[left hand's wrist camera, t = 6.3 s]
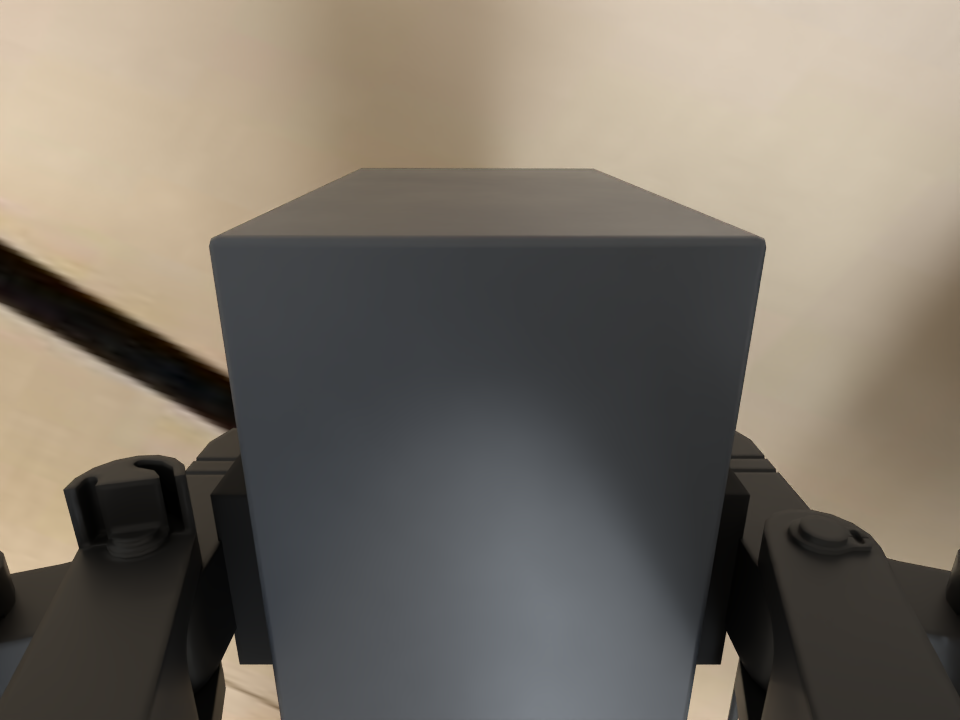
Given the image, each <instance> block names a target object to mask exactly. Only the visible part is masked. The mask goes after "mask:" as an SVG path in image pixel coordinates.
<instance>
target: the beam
mask: <svg viewBox="0 0 960 720" xmlns="http://www.w3.org/2000/svg"><path fill="white" fill-rule="evenodd" d="M209 249H210V255H211V262H212V268H213V275H214V282H215V288H216V295H217V301H218V308H219V314H220V321H221V328H222V334H223V341H224V347H225V354H226V360H227V367H228V374H229V380H230V387H231V393H232V400H233V406H234V413H235V420H236V426H237V433H238V439H239V446H240V452H241V459H242V466H243V472H244V479H245V485H246V492H247V498H248V505H249V512H250V518H251V525H252V531H253V538H254V544H255V551H256V558H257V564H258V571H259V577H260V584H261V590H262V597H263V604H264V610H265V617H266V623H267V630H268V636H269V643H270V650H271V656H272V663H273V669H274V676H275V682H276V689H277V696H278V702H279V709H280V715H281V720H687V716H688V710H689V704H690V698H691V692H692V686H693V680H694V674H695V668H696V663H697V657H698V651H699V645H700V639H701V633H702V627H703V621H704V615H705V609H706V603H707V597H708V591H709V585H710V579H711V573H712V567H713V561H714V555H715V549H716V543H717V537H718V531H719V525H720V519H721V513H722V508H723V502H724V496H725V490H726V484H727V478H728V472H729V466H730V460H731V454H732V448H733V442H734V436H735V430H736V424H737V418H738V412H739V406H740V400H741V394H742V388H743V382H744V376H745V370H746V364H747V359H748V353H749V347H750V341H751V335H752V329H753V323H754V317H755V311H756V305H757V299H758V293H759V287H760V281H761V275H762V269H763V263H764V257H765V251H766V244H765V240H764V238H761V237H759V236H757V235H754V234H752V233H750V232H747V231H745V230H742V229H740V228H737V227H735V226H732V225H730V224H727V223H725V222H723V221H720V220H718V219H715V218H713V217H710V216H708V215H705V214H703V213H701V212H698V211H696V210H693V209H691V208H688V207H686V206H683V205H681V204H679V203H676V202H674V201H671V200H669V199H666V198H664V197H661V196H659V195H656V194H654V193H652V192H649V191H647V190H644V189H642V188H639V187H637V186H634V185H632V184H630V183H627V182H625V181H622V180H620V179H617V178H615V177H612V176H610V175H608V174H605V173H603V172H600V171H598V170H595V169H467V168H361V169H359V170H357V171H355V172H352V173H350V174H348V175H346V176H344V177H342V178H340V179H337V180H335V181H333V182H331V183H329V184H327V185H325V186H322V187H320V188H318V189H316V190H314V191H312V192H310V193H307V194H305V195H303V196H301V197H299V198H297V199H295V200H292V201H290V202H288V203H286V204H284V205H282V206H280V207H277V208H275V209H273V210H271V211H269V212H267V213H265V214H262V215H260V216H258V217H256V218H254V219H252V220H250V221H247V222H245V223H243V224H241V225H239V226H237V227H235V228H232V229H230V230H228V231H226V232H224V233H222V234H220V235H217V236H215V237H213V238H211V241H210V244H209Z"/></svg>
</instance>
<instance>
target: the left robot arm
mask: <svg viewBox="0 0 960 720" xmlns="http://www.w3.org/2000/svg"><path fill="white" fill-rule="evenodd" d="M196 459H197V460H196V461H193V463H192V464H191V465H190V466H189V467H188V468H187V470H186V471H185V466H184V464H182V463H181V462H179V461H178V460H177V459H175V458H171V457H166V456H161V455H145V456H134V457H129V458H124V459H119V460H115V461H112V462H109V463H106V464H103V465H101V466H98V467H95V468H93V469H91V470H89V471H87V472H85V473H84V474H82V475H80V476H78V477H77V478H75V479H74V480H73V481H72V482H71V483H70V484H69V485H68V486H67V487H66V488H65V489H64V490H63V491H64V494H65V498H66V502H67V505H68V509H69V513H70V517H71V520H72V524H73V528H74V531H75V535H76V539H77V542H78V546H79V550H78V552H77V554H76V555H75V557H74V559H73V561H72V562H68V563H64V564H60V565H55V566H50V567H44V568H39V569H34V570H29V571H24V572H19V573H14V574H10V572H9V569H8V566H7V563H6V560H5V557H4V554H3V553H2V552H1V551H0V720H221V719H222V712H223V705H224V697H225V690H226V687H225V680H224V673H223V668H222V662H221V660H222V658H223V656H224V654H225V652H226V650H227V647H228V645H229V643H230V641H231V639H232V637H233V635H234V634H235V640H236V645H237V651H238V657H239V662H240V664H273V663H272V656H271V650H270V643H269V636H268V630H267V623H266V617H265V610H264V604H263V597H262V590H261V584H260V577H259V571H258V564H257V558H256V551H255V544H254V538H253V531H252V525H251V518H250V512H249V505H248V498H247V492H246V485H245V479H244V472H243V466H242V459H241V452H240V446H239V439H238V433H237V428H233V429H231V430H229V431H228V432H226V433H224V434H223V435H221V436H219V437H218V438H216V439H214V440H212V441H211V442H210V443H209V444H208V445H207V446H206V447H205V448H204V450H203V451H202V452H201V453H200V454H199V456H198V457H197V458H196ZM726 631H727V633H728V635H729V637H730V639H731V641H732V643H733V645H734V647H735V649H736V651H737V654H738V656H739V662H738V668H737V673H736V678H735V684H734V689H733V694H732V700H731V705H730V710H729V715H728V720H738V718H739V720H960V549H959V550H958V552H957V555H956V559H955V562H954V565H953V568H952V571H946V570H941V569H936V568H931V567H926V566H921V565H915V564H910V563H905V562H900V561H896V560H892V559H888V558H886V556H885V554H884V552H883V550H882V549H881V547H880V546H879V545H878V544H877V542H876V541H875V540H874V539H873V538H872V536H871V535H870V534H868V533H867V532H865V531H864V530H862V529H861V528H859V527H858V526H856V525H855V524H853V523H851V522H849V521H846V520H844V519H841V518H839V517H836V516H834V515H832V514H827V513H823V512H819V511H814V510H810V508H809V507H808V506H807V505H806V504H805V503H804V501H803V500H802V499H801V498H800V497H799V496H798V494H797V493H796V492H795V491H794V490H793V489H792V487H791V486H790V485H789V484H788V483H787V482H786V480H785V479H784V478H783V477H782V476H781V475H780V473H776V469H775V468H774V466H773V465H772V464H771V463H770V462H769V461H768V459H765V458H764V455H763V454H762V452H761V451H760V450H759V449H758V448H757V447H756V445H755V444H754V443H753V442H752V441H751V440H750V439H749V438H747V437H745V436H743V435H742V434H740V433H738V432H737V431H735V436H734V442H733V448H732V454H731V460H730V466H729V472H728V478H727V484H726V490H725V496H724V502H723V508H722V513H721V519H720V525H719V531H718V537H717V543H716V549H715V555H714V561H713V567H712V573H711V579H710V585H709V591H708V597H707V603H706V609H705V615H704V621H703V627H702V633H701V639H700V645H699V651H698V657H697V663H696V664H721V659H722V654H723V648H724V642H725V636H726Z"/></svg>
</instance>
